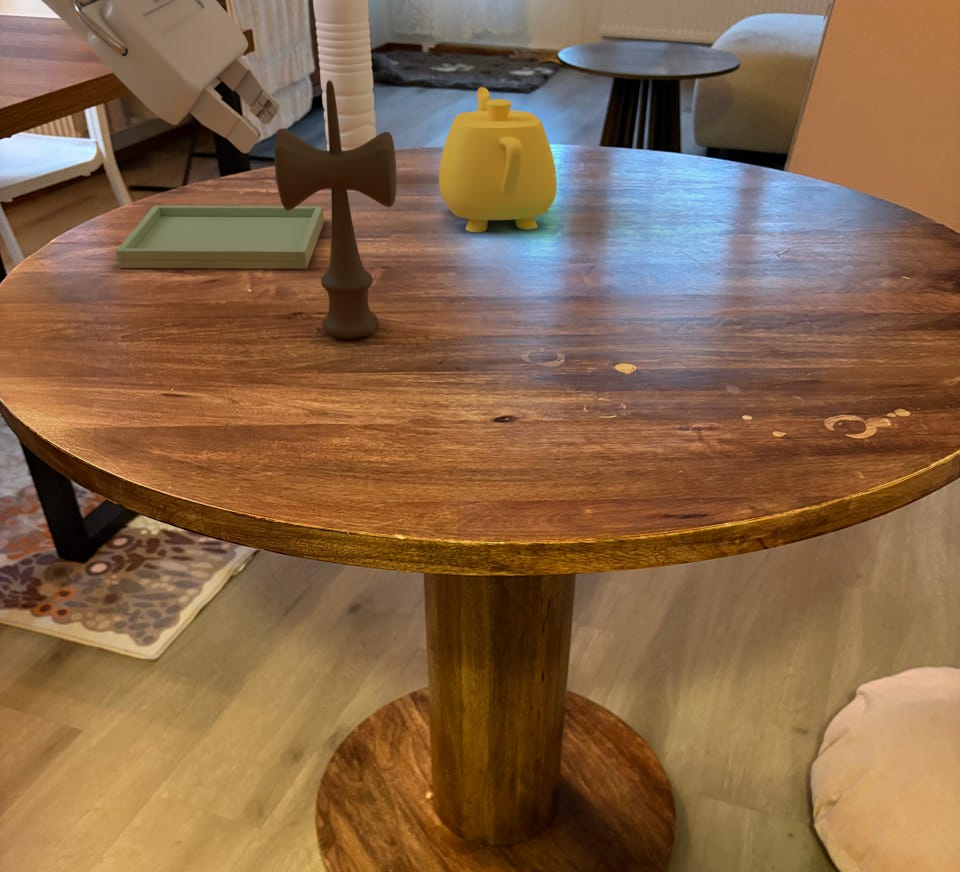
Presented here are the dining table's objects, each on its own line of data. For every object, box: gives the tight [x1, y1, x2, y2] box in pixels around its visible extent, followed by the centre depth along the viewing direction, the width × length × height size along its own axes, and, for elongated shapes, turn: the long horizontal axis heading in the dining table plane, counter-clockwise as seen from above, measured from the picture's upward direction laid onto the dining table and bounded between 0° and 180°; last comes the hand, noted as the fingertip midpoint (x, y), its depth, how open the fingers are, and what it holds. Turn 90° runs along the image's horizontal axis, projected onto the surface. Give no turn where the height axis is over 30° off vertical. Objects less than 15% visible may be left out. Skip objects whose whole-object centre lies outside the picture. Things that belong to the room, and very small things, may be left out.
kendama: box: [273, 80, 397, 339], centre depth 77 cm, size 6×10×20 cm, turn 92°
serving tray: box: [115, 204, 325, 270], centre depth 101 cm, size 20×16×2 cm
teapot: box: [438, 86, 558, 233], centre depth 105 cm, size 13×20×12 cm
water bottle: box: [312, 0, 377, 151], centre depth 112 cm, size 9×6×25 cm
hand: (265, 130), depth 73 cm, fingers open, 8 cm apart
